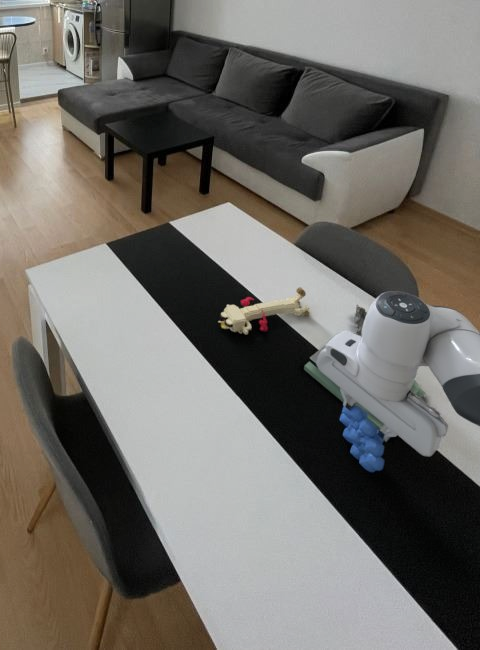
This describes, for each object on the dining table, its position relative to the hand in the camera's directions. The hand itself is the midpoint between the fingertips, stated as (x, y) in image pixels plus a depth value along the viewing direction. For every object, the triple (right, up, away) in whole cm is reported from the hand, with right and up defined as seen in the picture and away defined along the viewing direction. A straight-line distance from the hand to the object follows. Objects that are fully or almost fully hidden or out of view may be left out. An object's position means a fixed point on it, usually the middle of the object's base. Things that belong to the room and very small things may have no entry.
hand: (365, 421), depth 82 cm
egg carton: (+20, +2, +28) cm, 34 cm away
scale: (+10, -3, +16) cm, 19 cm away
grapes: (+1, -9, +3) cm, 9 cm away
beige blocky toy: (-6, +3, +34) cm, 35 cm away
